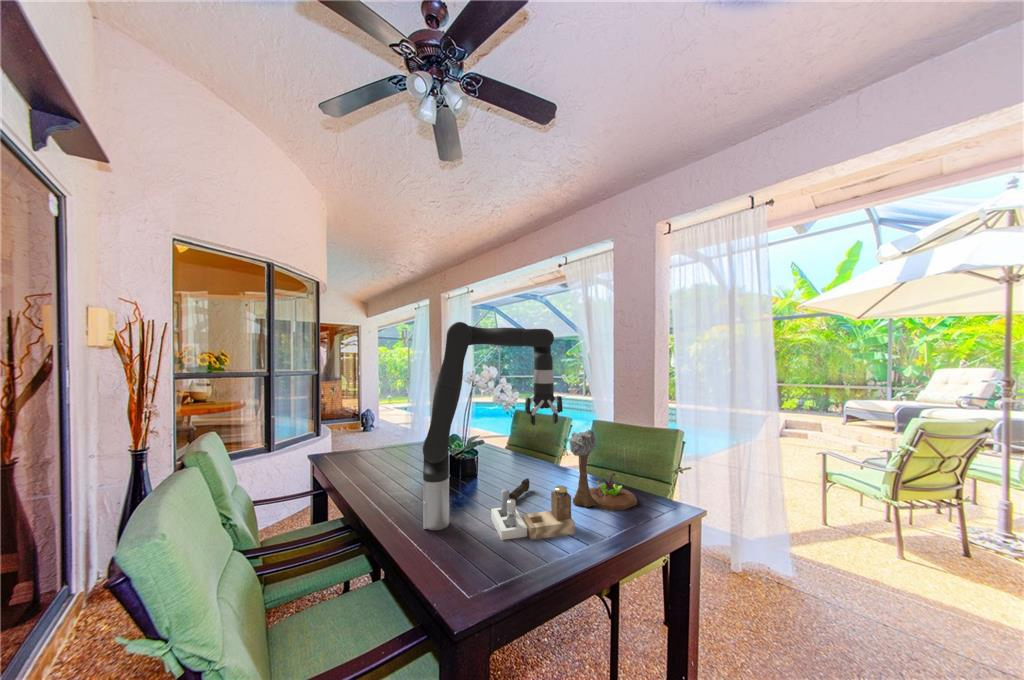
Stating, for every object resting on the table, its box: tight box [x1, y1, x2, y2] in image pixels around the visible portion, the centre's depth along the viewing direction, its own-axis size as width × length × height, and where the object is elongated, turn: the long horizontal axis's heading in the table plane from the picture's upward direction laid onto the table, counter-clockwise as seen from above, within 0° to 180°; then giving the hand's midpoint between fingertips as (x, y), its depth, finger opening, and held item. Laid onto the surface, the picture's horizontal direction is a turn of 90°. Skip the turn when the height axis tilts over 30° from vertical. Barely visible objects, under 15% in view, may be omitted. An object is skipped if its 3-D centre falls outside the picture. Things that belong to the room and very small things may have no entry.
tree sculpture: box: [568, 429, 597, 508], centre depth 151 cm, size 15×10×30 cm
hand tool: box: [509, 478, 530, 501], centre depth 159 cm, size 19×4×5 cm, turn 152°
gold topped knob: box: [554, 485, 568, 496], centre depth 130 cm, size 4×4×7 cm
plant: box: [589, 472, 638, 512], centre depth 155 cm, size 20×20×11 cm
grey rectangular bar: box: [507, 499, 517, 528], centre depth 127 cm, size 3×3×12 cm
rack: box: [490, 488, 528, 541], centre depth 131 cm, size 9×17×12 cm, turn 15°
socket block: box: [521, 490, 576, 541], centre depth 129 cm, size 16×10×13 cm, turn 105°
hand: (544, 424), depth 138 cm, fingers open, 8 cm apart
